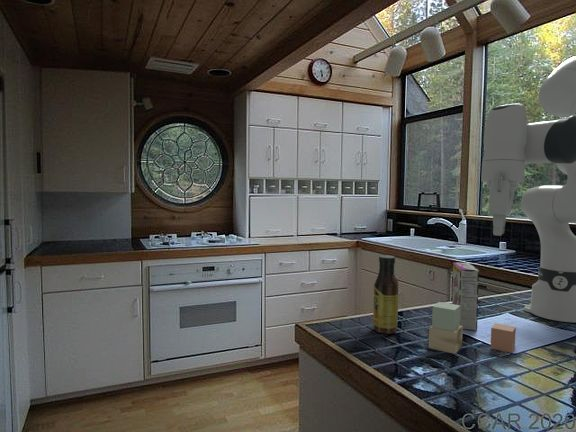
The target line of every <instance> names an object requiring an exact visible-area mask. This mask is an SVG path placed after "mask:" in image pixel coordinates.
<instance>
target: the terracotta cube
mask: <svg viewBox="0 0 576 432" xmlns="http://www.w3.org/2000/svg"><path fill="white" fill-rule="evenodd" d="M516 328H517V327H516V326H514V325H510V324H503V323H497V322H495V323H494V324H493V325H492V326H491V328H490V346H489V347H490V349H492V350H496V351H500V352H507V353H509V354H512V353H513V352H514V350H515V348H516V330H517V329H516ZM513 349H514V350H513Z"/></svg>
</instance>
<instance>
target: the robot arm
mask: <svg viewBox="0 0 576 432" xmlns="http://www.w3.org/2000/svg"><path fill="white" fill-rule="evenodd" d="M537 99H538V103H539V104H540V105H539V106H540V107H541V108H542V109H543V110H544V111H545V112H546V113H547V114H548V115H550V116H553V117H557V118H558V119H553V120H547V121H546V120H545V121H544V120H543V121H538V122H531V121H529V120H528V119H527V118H528V117H527V109H526V108H527V107H526V105H525V104H523V103H508V104H501V105H496V106H493V107H492V108H490V109H489V111H488V112H487V116H486V120H485V126H484V130H483V131H484V134H483V146H484V147H483V148H484V155H483V157H482V162H481V177H480V178H481V180H480V181H481V182H482V183H486V189H487V190H489V197H488V213H489V214H490V215H492V226H493V227H492V233H493V236H499V237H501V236H502V235H504V234H505V227H506V221H507V216H509V215H511V212H512V207H513V201H514V198H515V197H514V196H515V191H516V190H518V186H519V185H520V184H522V183H524V182H525V170H526V165H527V164H531V165H534V164H535V165H536V164H537V165H538V164H552V163H553V164H555V165H556V167H557V169H558V170H559V171H560V172H561V173H563V174H565V175H566V176H567V181H566V184H552V185H551V184H546V185H545V184H544V185H538V186H534V187H531V188H528V189H526V190H525V191H524V193H523V195H522V197H521V199H520V200H521V201H520V206H521V209H522V212H523V214H524V215H526V217H527V218H529V220H530V221H531V222H532V223H533V225H534V226H535V228H536V231H537V233H538V236H539V242H540V266H539V267H538V271H537V275H538V276H537V278H538V280H537V281H536V282H534V283H533V284H532V286H531V295H530V303H529V304H527V305H525V306H524V307H523V311H524V312H527V313H531V314H533V315H535V316H537V317H540V318H543V319H547V320H552V321H557V322H565V323H576V235H575V234H574V233H573V232H572V230H571V228H570V223H571V224H576V55H575V56H572V57H570V58H568V59H565V61H563V62H562V63H560V64H559V65H558V66H557V67H555V68H554V70H553V71H552V72H551V73H550V74H549V75H548V76H547V78H546V79H545V80H544V81H543V83H542V84H541V86H540V89H539V91H538V97H537ZM559 118H560V119H559Z"/></svg>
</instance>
